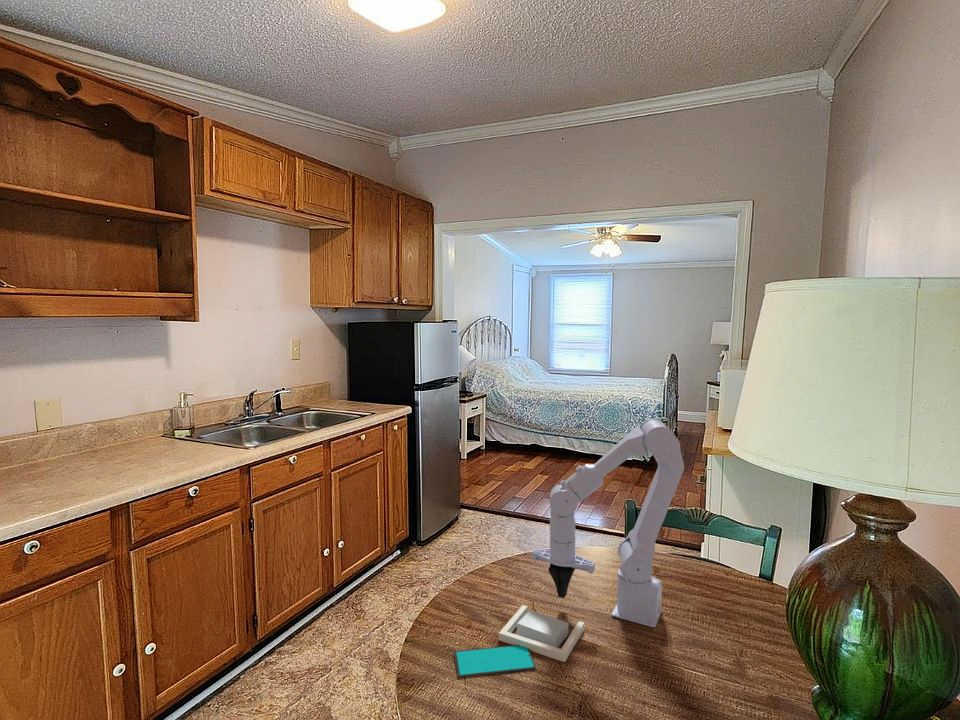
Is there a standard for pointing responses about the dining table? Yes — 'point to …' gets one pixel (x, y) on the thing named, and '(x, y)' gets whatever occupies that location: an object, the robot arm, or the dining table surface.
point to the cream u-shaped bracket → (537, 646)
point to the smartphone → (493, 661)
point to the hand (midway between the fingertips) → (562, 595)
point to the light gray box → (542, 628)
